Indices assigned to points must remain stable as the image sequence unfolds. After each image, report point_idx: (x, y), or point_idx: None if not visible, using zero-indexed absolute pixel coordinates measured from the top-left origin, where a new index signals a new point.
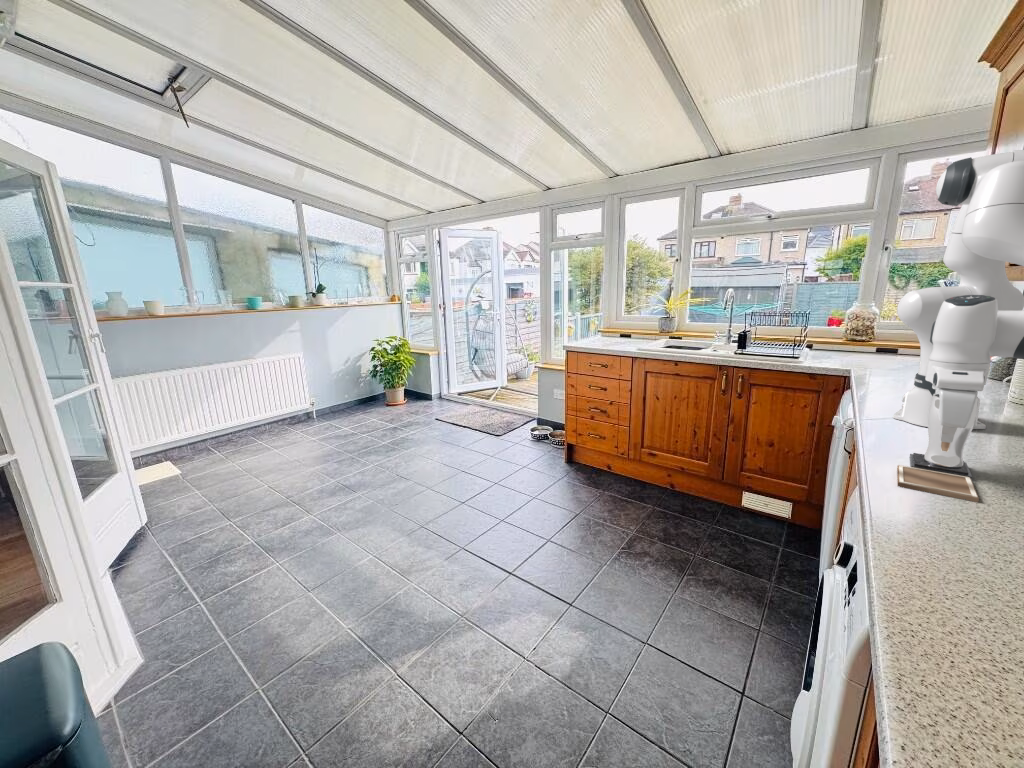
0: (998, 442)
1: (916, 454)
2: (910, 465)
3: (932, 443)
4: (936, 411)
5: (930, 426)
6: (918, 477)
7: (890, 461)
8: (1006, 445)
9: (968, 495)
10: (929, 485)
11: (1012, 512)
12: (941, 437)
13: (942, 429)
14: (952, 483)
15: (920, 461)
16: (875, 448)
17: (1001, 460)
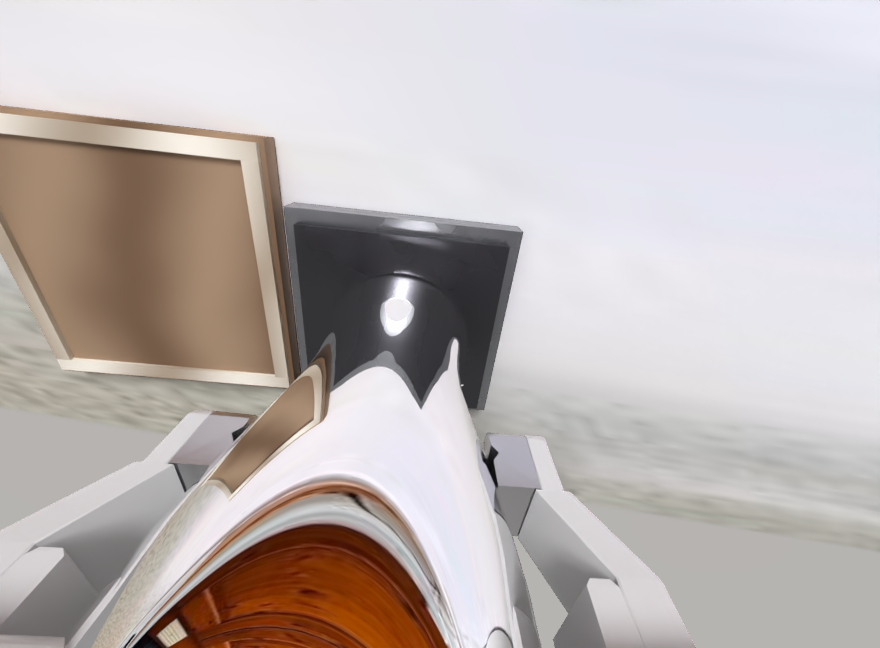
0: (822, 514)
1: (481, 257)
2: (356, 210)
3: (330, 351)
4: None
5: (261, 433)
6: (126, 214)
7: (395, 116)
8: (787, 522)
9: (52, 348)
10: (46, 242)
11: (81, 416)
12: (171, 431)
13: (49, 506)
14: (168, 326)
15: (358, 256)
16: (652, 47)
17: (609, 485)
